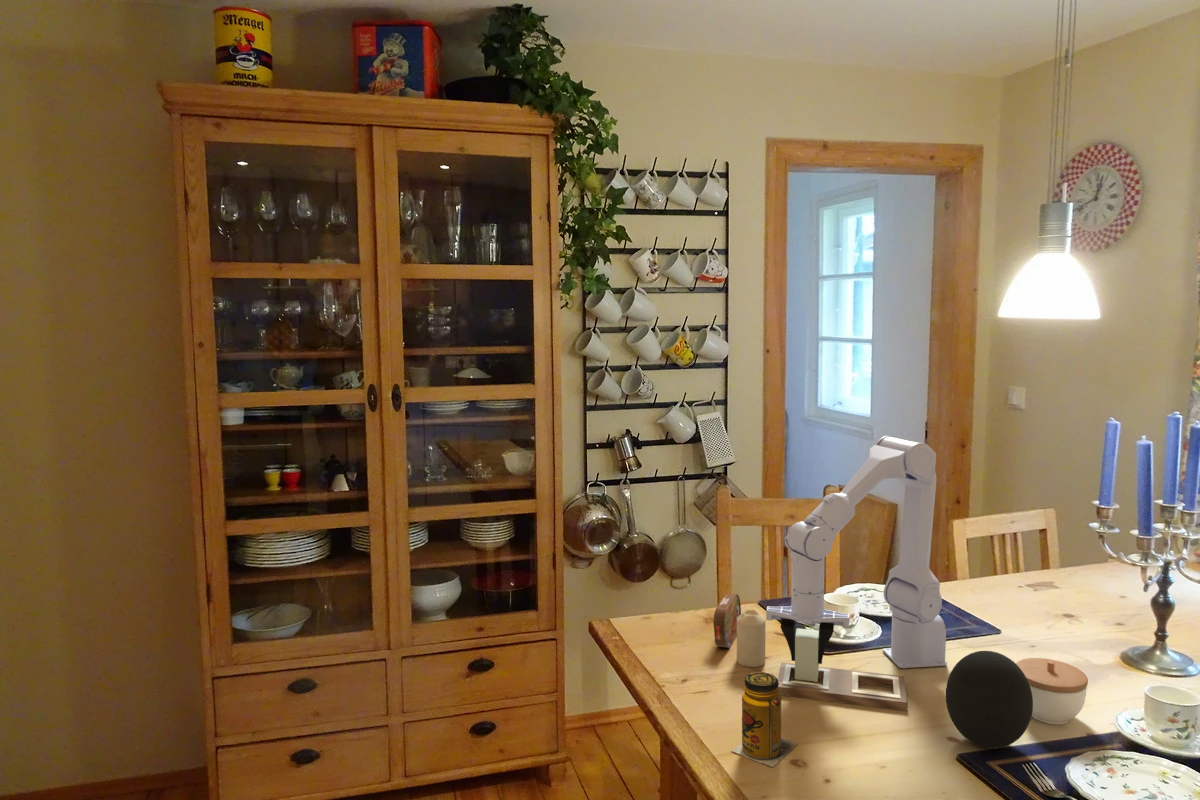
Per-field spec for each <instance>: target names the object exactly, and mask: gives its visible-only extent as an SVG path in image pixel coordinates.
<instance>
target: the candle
mask: <svg viewBox="0 0 1200 800" xmlns="http://www.w3.org/2000/svg"><path fill="white" fill-rule="evenodd" d="M736 661H737V663H738V664H739V665H740V666H743V667H746V668H759V667H762V666H763V665H765V664H766V618H764V617H763V616H762V615H761V613H759V612H758V611H756V610H754V609H752V610H751V609H750V610H748V609H747V610H745V611H744V612H741V615H740V616H739V617H738V618H737V636H736Z"/></svg>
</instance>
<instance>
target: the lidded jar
mask: <svg viewBox="0 0 1200 800" xmlns="http://www.w3.org/2000/svg"><path fill="white" fill-rule="evenodd" d="M1015 663H1016V664H1017V665H1018V666H1019V668H1020V669H1021V670H1022V671H1023V673H1024V674H1025V676H1026V678H1027V680H1028V682H1029V685H1030V688H1031V692H1032V697H1033V711H1032V717H1031V718H1033V719H1035V720H1036V721H1039V722H1042V723H1045V724H1048V725H1057V726H1058V725H1065V724H1067V723H1069V721H1070V720H1072V719H1074V718H1075V717H1076V716H1078V714H1079V713H1080V712H1081V711H1082V709H1083V708H1084V704H1085V701H1086V696H1087V688H1088V684H1089V683H1088V682H1089V681H1088V680H1089V679H1088V676H1087V675H1086V673H1085V672H1083V671H1082V670H1081V669H1079V668H1078V667H1076V666H1074V665H1071V664H1069V663H1066V662H1063V661H1059V660H1055V659H1050V658H1041V657H1030V658H1029V657H1028V658H1023V659H1021V660H1020V659H1019V660H1018V661H1017V662H1015Z"/></svg>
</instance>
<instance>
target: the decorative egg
mask: <svg viewBox="0 0 1200 800" xmlns="http://www.w3.org/2000/svg"><path fill="white" fill-rule="evenodd" d="M1016 663H1017V662H1015V661H1014V660H1013V659H1011V658H1010V657H1008V656H1006V655H1004V654H1002V653H1000V652H996V651H992V650H979V651H974V652H971V653H969V654H967V655H965V656H964V657H962V658H961V659H959V661H958V662H957V663H956V664H955V665H954V667H953V668H952V669H951V671H950V674H949V676H948V678H947V681H946V686H945V704H946V710H947V712H948V715H949V718H950V720H951V722H952V723H953V725H954V727H955V729H956V730H957V731H958V732H959V733H960V734H961V735H962V737H963V738H965V739H966V740H967V741H969V742H970V743H973V745H976V746H978V747H982V748H986V749H1000V748H1004V747H1008V746H1010V745H1012V744H1014V743H1015V742H1017V741H1018V740H1019V739H1021V737H1022V736H1023V735H1024V734H1025V733H1026V731H1027V729H1028V727H1029V725H1030V722H1031V720H1032V718H1033V717H1032V711H1033V697H1032V692H1031V688H1030V685H1029V682H1028V680H1027V678H1026V676H1025V674H1024V673H1023V671H1022V670H1021V669H1020V668H1019V666H1018V665H1017V664H1016Z"/></svg>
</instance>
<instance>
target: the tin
mask: <svg viewBox="0 0 1200 800" xmlns="http://www.w3.org/2000/svg"><path fill="white" fill-rule="evenodd" d="M741 607H742V606H741V600H740V595H739V594H738V593H735V594H734V593H731V594H729V593H725V594H723V597H722V598H721V600H720V601H719V603H718V605H717V606H716V608H715V610H714V614H713V624H712V625H713V631H714V632H713V634H714V644H715V646H716V647H719V648H727V649H730V648H731V647H732V645H733V644H734V642H735V640H736V639H737V618H738V617H739V616H740V615H741V614H742V610H741V609H742V608H741Z"/></svg>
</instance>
